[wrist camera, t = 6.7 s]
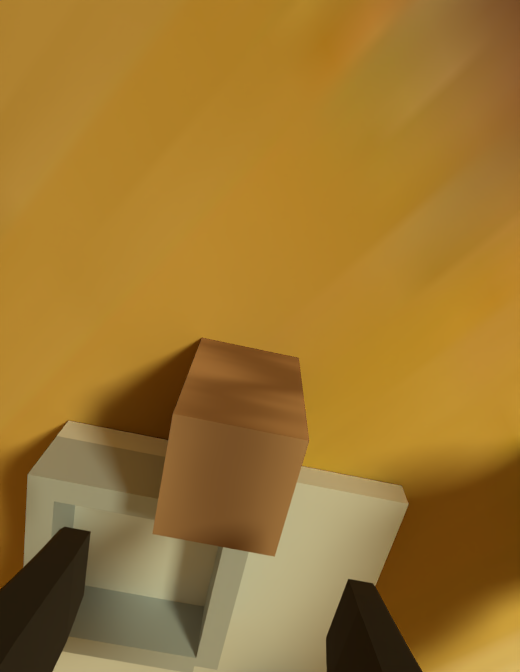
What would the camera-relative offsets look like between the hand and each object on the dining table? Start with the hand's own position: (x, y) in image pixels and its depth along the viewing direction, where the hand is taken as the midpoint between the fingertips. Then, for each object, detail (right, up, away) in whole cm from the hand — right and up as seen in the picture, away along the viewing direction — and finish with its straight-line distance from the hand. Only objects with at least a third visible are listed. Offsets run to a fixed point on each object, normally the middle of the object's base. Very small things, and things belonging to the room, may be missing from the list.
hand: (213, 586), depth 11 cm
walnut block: (0, +3, +9) cm, 10 cm away
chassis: (-2, -7, +13) cm, 15 cm away
